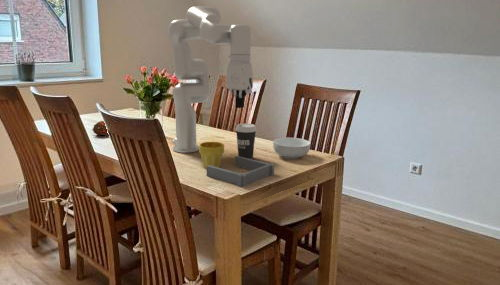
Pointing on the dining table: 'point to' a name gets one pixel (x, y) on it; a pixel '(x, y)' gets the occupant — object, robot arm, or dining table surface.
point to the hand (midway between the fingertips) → (239, 107)
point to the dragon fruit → (100, 128)
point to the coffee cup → (245, 140)
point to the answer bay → (256, 173)
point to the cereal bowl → (291, 147)
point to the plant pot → (211, 153)
